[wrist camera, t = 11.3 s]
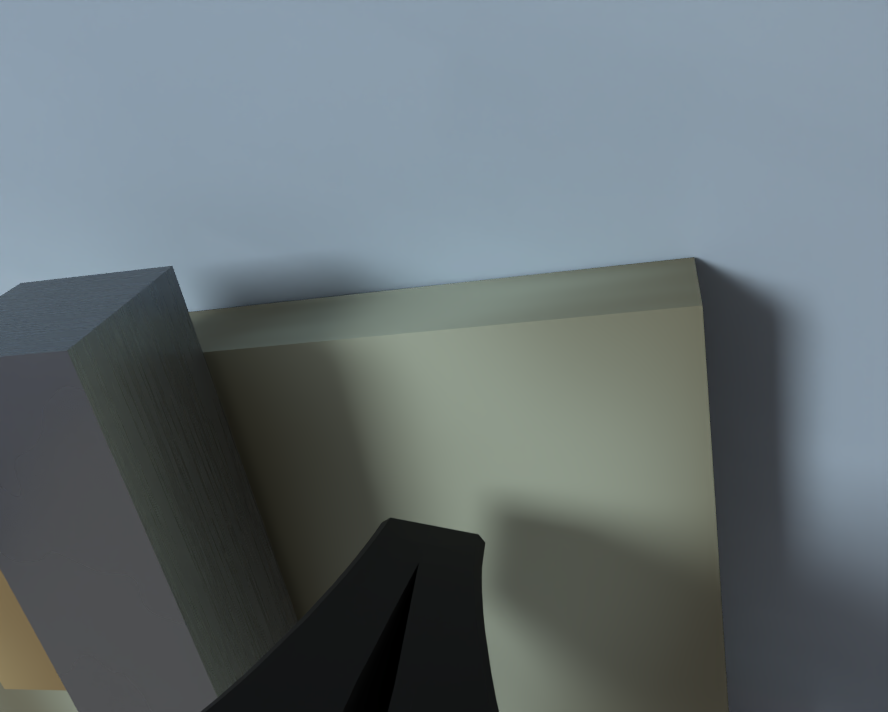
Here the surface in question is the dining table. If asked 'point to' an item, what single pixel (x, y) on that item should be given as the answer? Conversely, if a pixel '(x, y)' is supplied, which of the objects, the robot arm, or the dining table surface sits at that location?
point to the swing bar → (128, 498)
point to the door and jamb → (488, 470)
